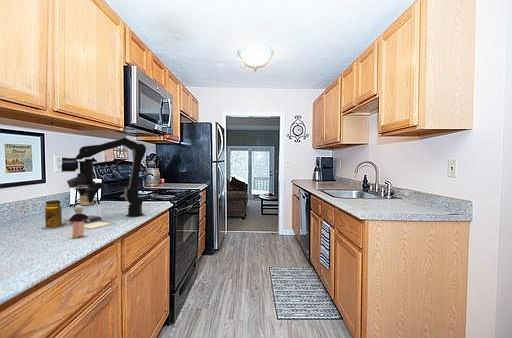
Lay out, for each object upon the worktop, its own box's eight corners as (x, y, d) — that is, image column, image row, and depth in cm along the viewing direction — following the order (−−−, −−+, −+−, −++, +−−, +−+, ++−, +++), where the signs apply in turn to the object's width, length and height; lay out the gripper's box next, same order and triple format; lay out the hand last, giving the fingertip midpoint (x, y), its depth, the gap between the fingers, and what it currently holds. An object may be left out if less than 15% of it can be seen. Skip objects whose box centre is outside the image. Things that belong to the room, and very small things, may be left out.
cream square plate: (99, 221, 138) (99, 220, 138) (116, 223, 133) (116, 222, 133) (72, 227, 126) (72, 226, 126) (90, 229, 121) (90, 228, 121)
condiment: (41, 229, 123) (40, 202, 122) (49, 225, 131) (48, 199, 130) (60, 228, 125) (60, 201, 125) (67, 224, 133) (66, 198, 133)
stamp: (88, 204, 142) (88, 192, 142) (94, 205, 141) (94, 192, 140) (79, 205, 138) (79, 193, 138) (85, 206, 136) (85, 193, 136)
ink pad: (91, 218, 146) (91, 215, 146) (101, 219, 143) (101, 216, 143) (72, 222, 137) (72, 218, 137) (82, 223, 134) (82, 220, 134)
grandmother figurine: (71, 239, 106) (70, 206, 106) (66, 238, 108) (65, 205, 108) (92, 235, 113) (91, 204, 112) (87, 233, 115) (86, 203, 114)
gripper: (57, 171, 136) (58, 203, 136) (82, 172, 128) (83, 206, 128) (80, 170, 146) (81, 200, 146) (104, 171, 138) (105, 202, 138)
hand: (87, 202), depth 139 cm, fingers closed on stamp, 4 cm apart
